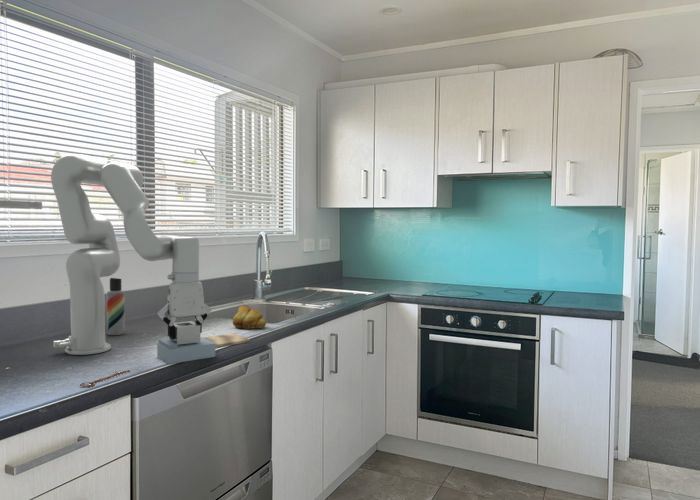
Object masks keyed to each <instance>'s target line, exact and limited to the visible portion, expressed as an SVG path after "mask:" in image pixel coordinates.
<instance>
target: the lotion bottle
mask: <svg viewBox="0 0 700 500" xmlns="http://www.w3.org/2000/svg"><path fill="white" fill-rule="evenodd" d="M125 305H126V304H125V290H122V278H117V277H110V278H109V290H108V291H106V318H107V319H106V325H107V326H106V328H107V332H106V333H107V335H109V336H120V335H124V334H125V331H126V319H125V316H126V315H125V312H126V311H125V310H126V309H125V307H126V306H125Z"/></svg>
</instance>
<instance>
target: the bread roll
mask: <svg viewBox="0 0 700 500" xmlns="http://www.w3.org/2000/svg"><path fill="white" fill-rule="evenodd" d="M232 324H233V326H234V327H235V328H239V329H248V330H250V329H262V328H265V327H266V325H267V321H266V319H265V318H264V317H263V314H262V313H261V312H260V311H259V310H257V309H251V308H250V307H249V306H248V305H245V304H244V305H241V306H239V307H238V309H237V312H236V314H235V315H234V316H233V318H232Z"/></svg>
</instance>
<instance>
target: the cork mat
mask: <svg viewBox="0 0 700 500" xmlns="http://www.w3.org/2000/svg"><path fill="white" fill-rule="evenodd" d="M203 338H205V339H207V340H209V341H211V342H213V343H215V348H220V347H226V346H233V345H241V344H246V343H247V344H248V343H250V342H251V340H250V339H249V338H246V337H244V336H242V335H239V334H236V333H228V334H227V333H226V334H221V335H212V336H204V337H203Z"/></svg>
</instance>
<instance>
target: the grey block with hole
mask: <svg viewBox="0 0 700 500" xmlns="http://www.w3.org/2000/svg"><path fill="white" fill-rule="evenodd" d="M195 322H196V321H180V322H175V323H174V326H175V339H173V340H172V339H171V338H169V337H168V339H169V340H171V341H172V342H174V343H176V344H178V345H179V344H187V343H195V342H200V338H201V333H200V327H201V325H199V324H197V323H195Z"/></svg>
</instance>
